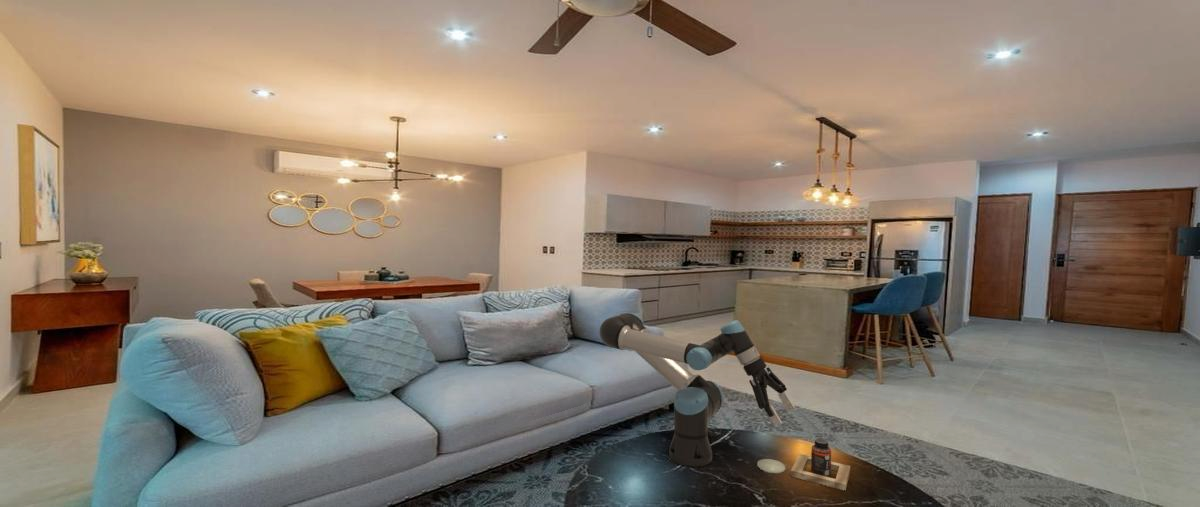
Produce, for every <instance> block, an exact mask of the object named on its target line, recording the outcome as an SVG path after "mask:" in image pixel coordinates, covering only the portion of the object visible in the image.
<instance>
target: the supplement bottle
mask: <svg viewBox="0 0 1200 507" xmlns="http://www.w3.org/2000/svg"><path fill="white" fill-rule="evenodd" d="M810 452H811V455H810V457H811V465H810V471H811V472H810V473H814V474H818V475H822V476H826V477H830V478H831V473H832V470H831V462H832V449H831V448H830V447H829V441H828V440H826V439H824V438H820V437H819V438H818V437H817V438H815V439H814V444H812V446H811V451H810Z"/></svg>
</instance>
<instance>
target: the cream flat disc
mask: <svg viewBox="0 0 1200 507" xmlns="http://www.w3.org/2000/svg"><path fill="white" fill-rule="evenodd" d="M758 467H759V468H760V469H759V468H758ZM757 468H758V469H759V470H761V471H762V470H763V472H765V473H768V474H773V473H774V474H775V475H776V474H777V475H778V474H782V472H783V473H784V472H785V471H786V465H784V463H783V462H781V461H779V460H775V459H771V458H763V459H759V460H758V461H757Z"/></svg>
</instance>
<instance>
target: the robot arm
mask: <svg viewBox="0 0 1200 507" xmlns="http://www.w3.org/2000/svg"><path fill="white" fill-rule="evenodd" d="M720 331H721V333H720V334H719V335H717V336H715V337H713V338H711V339H710V340H709V339H708V341H706V342H703V343H701V344H696V343H692V342H688V341H683V340H681V339H675V338H670V337H666V336H663V335H658V334H653V333H649V330H648V329H647V327H645V324H644V321H643V319H642V318H641V316H639V315H638V314H636V313H633V312H625V313H624V312H623V313H620V314H619V315H615V316H611V317H608V318H606V319H605V320H604V321H603V322H602V323H601V324H600V328H599V338H600V340H601V341H602V342H603V343H604V344H605V345H606V346H608V347H610V348H613V349H617V350H620V351H626V350H628V352H633V351H634V352H635V353H636V354H637V355H638V356H639V357H641V358H642V359H643V360H644V362H646V363H647V364H648V365H649V366H650V367H651V368H653V369H654V370H655V371H656V372H657V373H658V374H659V375H660V376H661V377H663V378H664V379H665V380H666V381H667V382H668V383H669V384H670V385H671V386H672V387H674V389H676V393H675V395H674V399H673V400H674V401H673V407H674V408H673V410H674V411H673V413H674V418H673V420H674V421H673V425H674V428H673V429H674V431H673V432H674V434H673V436H672V440H671V442H670V446H669V450H668V453H669V454H668V455H669V458H670V459H671V460H672V461H673V462H674V463H676V464H679V465H681V466H686V467H695V468H697V467H703V466H706V465H709V464H711V462H712V461H713V451H712V450H713V449H712V447H711V444H710V441H709V437H708V420H709V419H710V418H712V417H713V416H714V415H715V414H716V413H718V412H719V411H720V409H721V408H722V406H723V404H724V399H725V398H724V392H723V390H722V388H721V387H720V385H719V384H718V383H717V382H715V381H712V380H706V379H705V378H703V377H702V376H701V375H700V374H693V373H692V372H691V371H690V370H689V369H688V368H686V366H684V365H683V364H686V365H688V366H689V367H690V368H691V369H693V370H695V371H701V370H705V369H707V368H709V367H710V366H711V365H712V364H714V363H715V362H717V361H718V360H720V359H721V358H723V357H725V356H728V355H729V354H732V352H733V353H734V355H735V357H736V358H737V361H738V362H739V364H740V365H741V366H743V370H744V372H745V374H746V375H747V376H748V377H749V376H751V378H752V379H749V380H748V381H749V382H748V383H749V384H750V386H751V388H752V391H753V395H754V397H755V401H756V404H757V406H758V409H761V410H763V409H764V411H765V412H766V415H767V416H768V417H769V420H770V421H771V423H772V424H773V425H774V427H776V426H777V427H778V426H779V425H782V424H783V422H782V420H781V418H780V417H779V415H778V413H777V412H776V410H775V408H774V407H773V406H772V404H770V401H769V396H768V390H767V388H768V387H769V388H771V389H772V390H774V392H776V393H778V394H777V396H778V398H779V399H780V400H781V402H782V404H783V406H784V407H785V409H786V411H787V412H790V411H793V410H795V409H796V406H795V405H794V404H793V402H792V401H791V399H790V397H789V396H788V394H787V393H786V391H787V389H788V388H787V387H786V385H785V383H783V382H782V380H780V378H779V377H778V376H777V375H776V374H775V373H774V372H773V371H772V369H771V368H770V367H769V366H767V364H766V361H764V359H763V358H762V357H760V356H761V354H760V353H759V351H758V348H756V346H755V344H754V342H753V341H752V339H751V338H750V336H749V335H748V333H747V331H746V329H745V328H744V327H743V325H742V324H741V322H740V321H739V320H737V319H735V320H731V321H730V322H729V323H727V324H725V325H723V326H722V327H721V328H720ZM681 363H682V364H681Z"/></svg>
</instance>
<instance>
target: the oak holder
mask: <svg viewBox="0 0 1200 507" xmlns="http://www.w3.org/2000/svg"><path fill="white" fill-rule="evenodd" d="M807 465H810V466H811V455H805V454H803V453H802V454H801V453H798V455H797V458H796V460H795V462H794V464H793V465H792V467H791V469H790V477H792V478H796V479H799V480H803V481H807V482H810V483H813V484H817V483H818V485H821V484H822V486H825V485H826V487H829V488H833V489H837V490H841V491H844V490H845V491H846V490H847V486H848V481H849V478H850V474H851V465H848V464H843V463H840V462H835V461H831V471H834V472H837V474H836V477H835V478H833V477H831V476H830V477H826V476H822V475H818V474H814V473H812V472H810V471H805V470H806V468H807Z"/></svg>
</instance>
